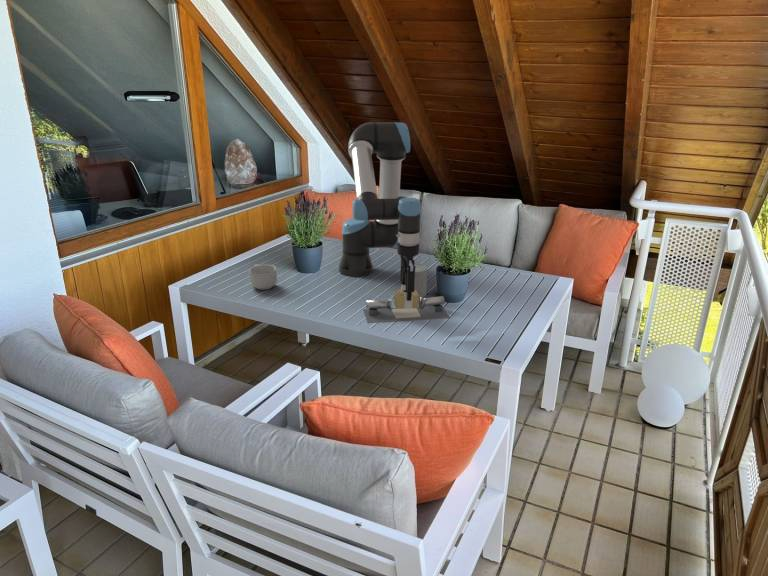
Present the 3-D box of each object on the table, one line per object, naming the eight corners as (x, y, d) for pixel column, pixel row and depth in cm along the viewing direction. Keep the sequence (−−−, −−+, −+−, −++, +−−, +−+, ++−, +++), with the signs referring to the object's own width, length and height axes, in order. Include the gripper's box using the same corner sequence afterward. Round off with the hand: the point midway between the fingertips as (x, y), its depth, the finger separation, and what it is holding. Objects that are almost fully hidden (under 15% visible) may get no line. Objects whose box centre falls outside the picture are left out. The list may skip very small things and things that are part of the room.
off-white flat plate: (392, 310, 212) (392, 309, 212) (416, 309, 214) (416, 307, 214) (395, 318, 206) (395, 316, 206) (420, 316, 207) (420, 315, 207)
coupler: (415, 302, 211) (416, 290, 209) (418, 308, 207) (418, 295, 205) (394, 303, 210) (394, 290, 209) (396, 308, 206) (396, 295, 204)
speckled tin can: (398, 294, 230) (399, 265, 226) (420, 291, 234) (421, 262, 229) (407, 303, 222) (408, 273, 218) (430, 299, 225) (431, 270, 221)
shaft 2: (439, 306, 216) (440, 292, 214) (444, 311, 213) (445, 296, 210) (417, 309, 213) (418, 295, 211) (422, 314, 210) (423, 299, 208)
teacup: (279, 290, 232) (278, 271, 230) (252, 293, 229) (251, 274, 226) (272, 278, 244) (271, 260, 242) (247, 281, 241) (245, 263, 238)
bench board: (363, 312, 213) (363, 309, 213) (441, 307, 218) (441, 304, 218) (367, 326, 202) (367, 323, 202) (450, 321, 207) (450, 318, 207)
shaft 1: (366, 315, 208) (366, 301, 206) (366, 310, 212) (366, 296, 210) (391, 315, 208) (391, 301, 206) (390, 310, 212) (391, 296, 210)
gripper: (392, 236, 208) (391, 295, 216) (403, 251, 191) (401, 315, 199) (413, 235, 209) (411, 294, 217) (425, 250, 192) (422, 314, 201)
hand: (406, 304), depth 208 cm, fingers closed on coupler, 5 cm apart
